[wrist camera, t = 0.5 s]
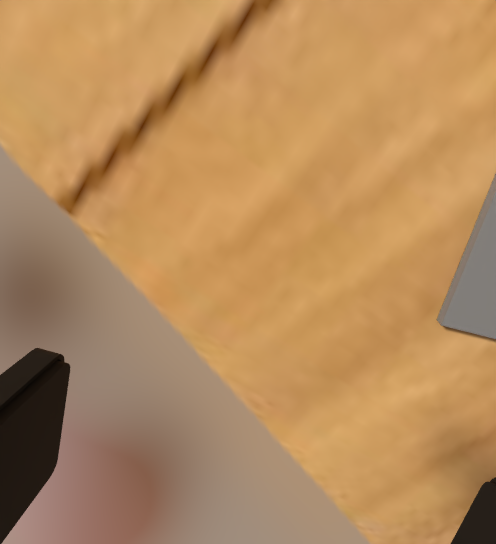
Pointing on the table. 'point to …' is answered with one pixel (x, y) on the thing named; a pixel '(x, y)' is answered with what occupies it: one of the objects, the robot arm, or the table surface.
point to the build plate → (475, 278)
